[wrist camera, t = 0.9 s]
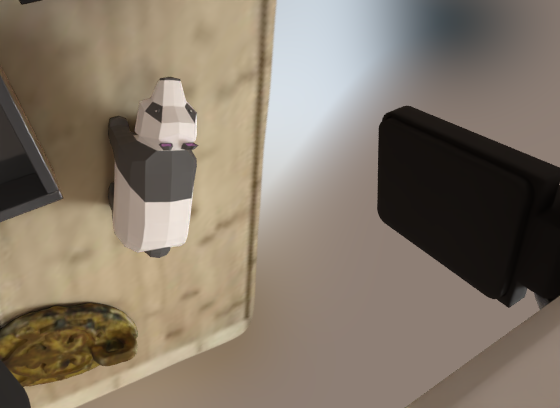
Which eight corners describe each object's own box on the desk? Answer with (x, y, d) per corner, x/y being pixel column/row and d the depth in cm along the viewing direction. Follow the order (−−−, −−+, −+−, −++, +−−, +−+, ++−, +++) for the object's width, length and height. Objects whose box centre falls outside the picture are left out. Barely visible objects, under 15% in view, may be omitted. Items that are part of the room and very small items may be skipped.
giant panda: (162, 211, 43) (201, 269, 36) (102, 217, 40) (131, 282, 33) (176, 57, 36) (227, 92, 29) (106, 50, 33) (144, 88, 26)
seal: (-28, 386, 42) (131, 346, 51) (-27, 431, 39) (142, 381, 47) (-41, 321, 38) (138, 288, 46) (-40, 367, 34) (151, 323, 42)
